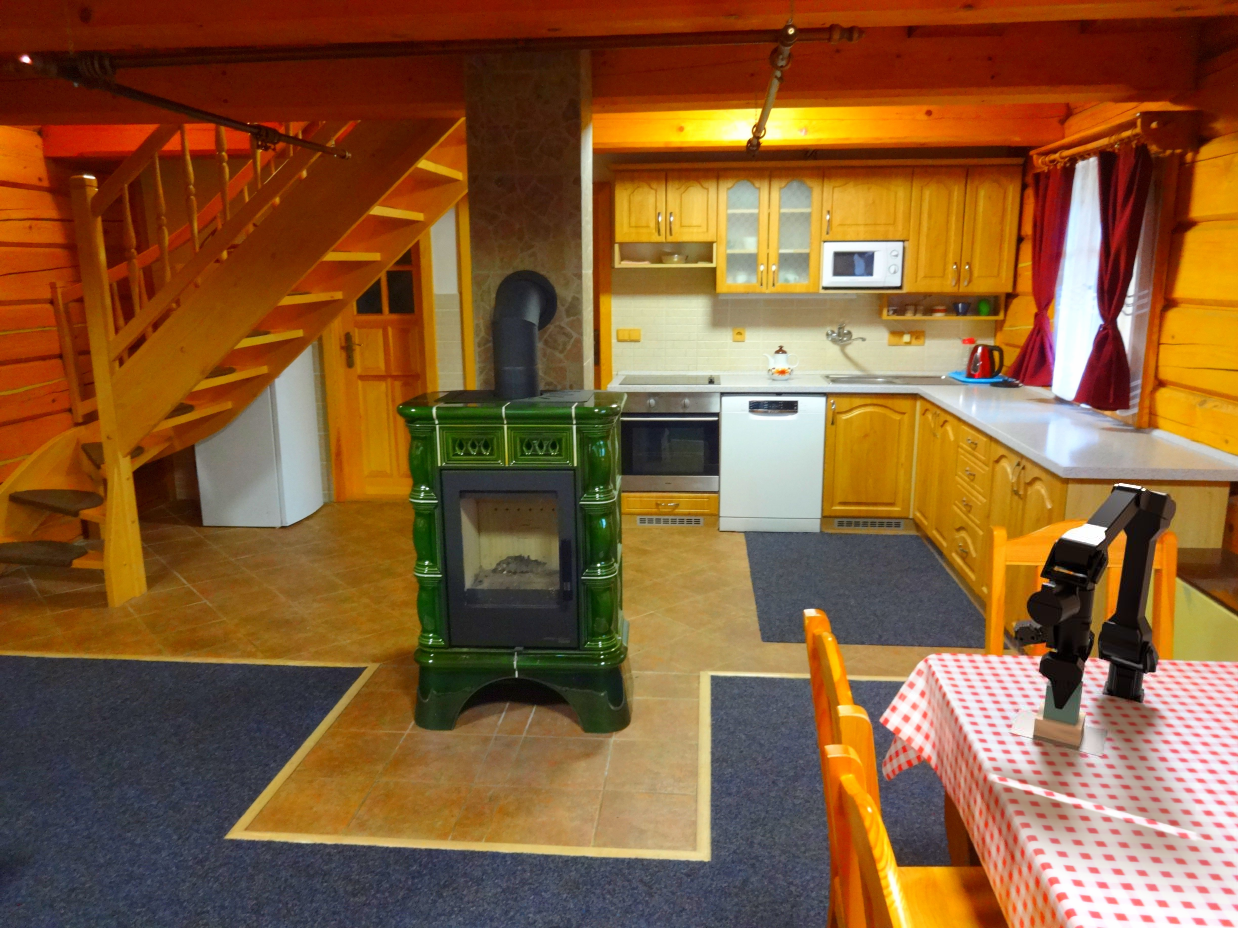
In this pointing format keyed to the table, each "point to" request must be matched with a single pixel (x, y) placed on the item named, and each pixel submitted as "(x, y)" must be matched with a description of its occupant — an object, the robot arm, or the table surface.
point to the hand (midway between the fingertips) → (1062, 697)
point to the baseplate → (1089, 742)
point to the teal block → (1070, 709)
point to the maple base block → (1059, 728)
